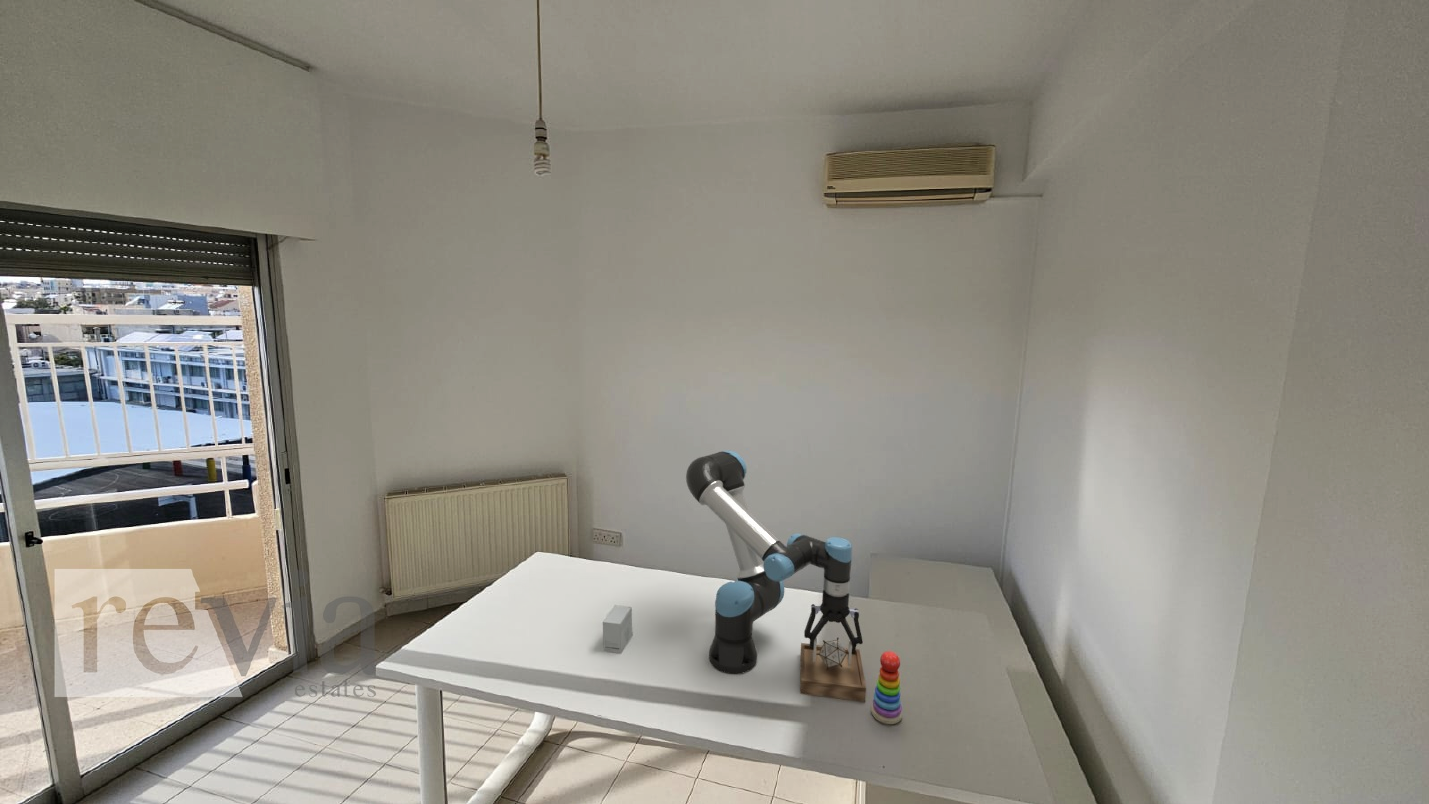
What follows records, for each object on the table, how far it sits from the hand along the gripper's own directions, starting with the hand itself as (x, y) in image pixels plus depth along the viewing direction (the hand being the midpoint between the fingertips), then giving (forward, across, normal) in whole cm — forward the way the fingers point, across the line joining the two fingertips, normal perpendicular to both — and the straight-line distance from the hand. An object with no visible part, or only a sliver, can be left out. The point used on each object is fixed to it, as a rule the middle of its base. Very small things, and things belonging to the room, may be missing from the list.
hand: (831, 660), depth 161 cm
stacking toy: (+5, +14, -13) cm, 20 cm away
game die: (+2, 0, 0) cm, 2 cm away
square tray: (+5, 0, 0) cm, 5 cm away
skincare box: (+6, -68, +4) cm, 68 cm away
